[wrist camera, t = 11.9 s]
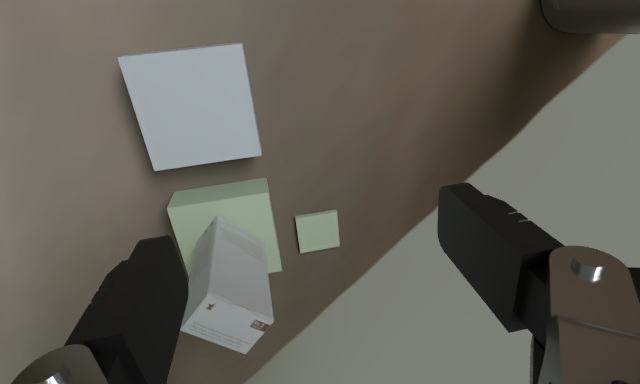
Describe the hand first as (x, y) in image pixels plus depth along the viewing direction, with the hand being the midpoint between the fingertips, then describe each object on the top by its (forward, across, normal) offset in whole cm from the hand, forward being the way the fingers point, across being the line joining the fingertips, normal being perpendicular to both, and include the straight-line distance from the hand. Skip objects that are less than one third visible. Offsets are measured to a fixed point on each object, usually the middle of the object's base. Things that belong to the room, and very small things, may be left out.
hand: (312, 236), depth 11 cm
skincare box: (+24, +7, +14) cm, 29 cm away
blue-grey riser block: (+28, +8, 0) cm, 29 cm away
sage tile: (+28, -2, +18) cm, 33 cm away
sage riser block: (+28, +8, +14) cm, 32 cm away
